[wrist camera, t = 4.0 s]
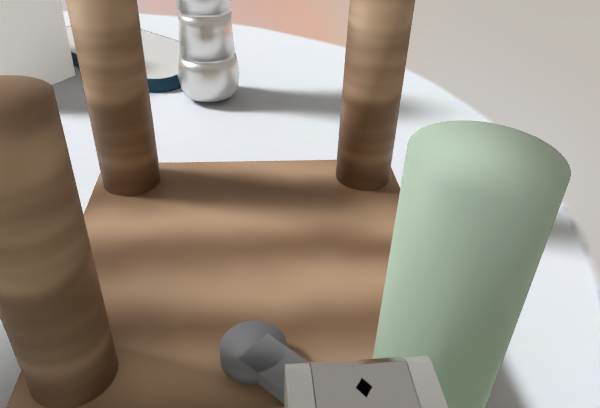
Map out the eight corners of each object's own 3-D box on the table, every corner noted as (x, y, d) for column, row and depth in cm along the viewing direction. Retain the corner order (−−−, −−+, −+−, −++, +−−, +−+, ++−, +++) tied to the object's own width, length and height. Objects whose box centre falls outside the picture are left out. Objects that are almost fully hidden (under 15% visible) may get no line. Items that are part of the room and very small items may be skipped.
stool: (475, 431, 28) (588, 126, 18) (18, 460, 26) (-135, 134, 16) (382, 190, 45) (413, -28, 36) (110, 196, 43) (64, -33, 34)
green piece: (199, 364, 26) (168, 72, 18) (258, 317, 29) (253, 43, 20) (424, 542, 20) (535, 222, 12) (472, 463, 22) (592, 153, 14)
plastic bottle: (247, 88, 62) (242, -116, 51) (229, 113, 57) (219, -109, 45) (193, 82, 63) (176, -120, 52) (170, 106, 57) (145, -114, 46)
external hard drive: (228, 71, 67) (228, 55, 66) (156, 101, 59) (153, 84, 58) (106, 31, 78) (103, 16, 77) (31, 51, 71) (27, 36, 69)
